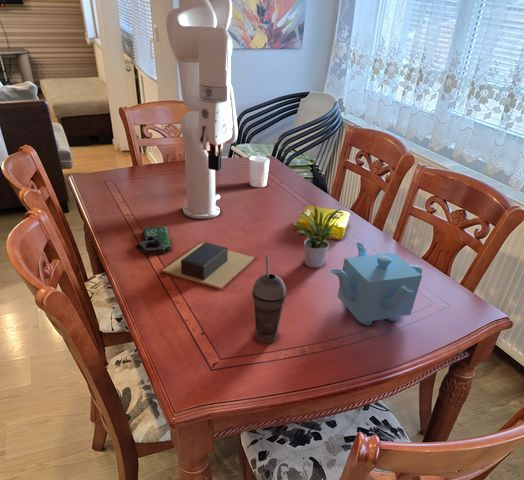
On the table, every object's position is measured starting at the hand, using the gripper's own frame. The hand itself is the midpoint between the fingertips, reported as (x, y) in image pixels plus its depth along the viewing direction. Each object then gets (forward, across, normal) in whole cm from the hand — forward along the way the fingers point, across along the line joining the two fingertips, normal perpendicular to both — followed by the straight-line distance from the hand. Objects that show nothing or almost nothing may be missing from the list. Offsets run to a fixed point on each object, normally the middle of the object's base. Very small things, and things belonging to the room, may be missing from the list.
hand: (214, 168), depth 125 cm
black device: (+20, -7, -4) cm, 22 cm away
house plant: (+23, +7, -30) cm, 38 cm away
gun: (+24, -7, +18) cm, 30 cm away
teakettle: (+22, -12, -50) cm, 57 cm away
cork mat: (+23, -11, -4) cm, 26 cm away
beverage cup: (+22, -34, -32) cm, 52 cm away
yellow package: (+24, +31, -24) cm, 46 cm away
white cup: (+25, +58, +13) cm, 65 cm away
